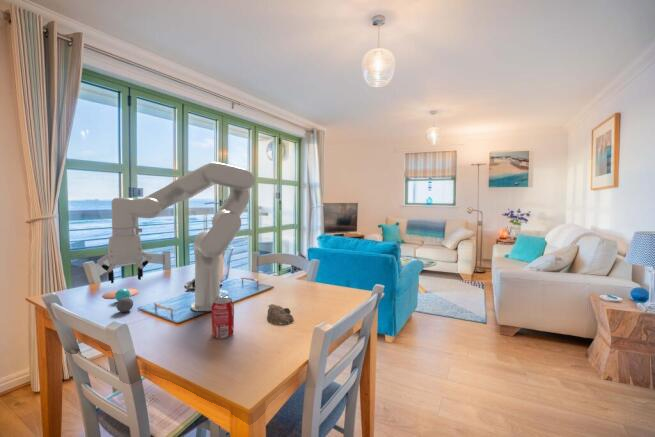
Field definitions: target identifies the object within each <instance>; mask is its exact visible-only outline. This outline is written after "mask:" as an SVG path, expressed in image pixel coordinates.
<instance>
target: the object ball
mask: <svg viewBox="0 0 655 437" xmlns="http://www.w3.org/2000/svg"><path fill="white" fill-rule="evenodd" d="M128 289H129V288H120V289H118V291H117V292H116V294H115V298H116V299H115V300H116V301H117V302H118V301H119V300H120V299H122V298H130V297H131V296H130V291H129V290H128Z"/></svg>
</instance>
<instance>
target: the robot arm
mask: <svg viewBox="0 0 655 437" xmlns="http://www.w3.org/2000/svg"><path fill="white" fill-rule="evenodd" d="M255 180H256V179H255V176H254V173H252V172H251V171H249V170H248V169H246V168H241V167H238V166H233V165H231V164H230V165H229V164H226V163H222V162H217V161H211V162H209V163H206V164H204V165H202V166H200V167H198V168H196V169H195V170H192V171H191V172H189V173H187V174H185V175H183V176H181V177H180V178H177V179H175V180H174V181H172V182H171V183H169V184H168V185H166V186H164V187H162V188H160V189H158V190H157V191H155V192H153V193H150V194H149V195H146V196H145V197H143V198H133V197H114V198H113V199H112V200H111V227H112V228H111V232H112V233H111V236H109V239H108V243H107V244H108V245H107V246H108V247H107V248H108V249H107V254H105V255H103V256H102V257H100V258H99V259H97V261H96V263H97V264H98V265H99V266H100V267H101V268H102V269H103V270H105V271H107V274H108V282H111V284H114V281H115V280H114V270H113V269H114V268H115V266H118V265H129V264H130V265H131V264H136V265H137V266H138V267H137V280H138V281H140V280H142V278H143V277H144V272H143V271H144V270H143V269H144V268H145V267H147V265H148V264H149V262H151V260H152V259H153V256H152V255H151V254H148V253H147V252H145V251H143V249H142V248H143V246H142V242H141V240H142V239H141V236H140V234H141V233H142V232H143V228H140V227H138V218H142V219H155V218H156V217H158V216H159V215H160V214H161V213H162V212H163V211H164V210H165V209H168V208H169V207H170V206H173V205H175V204H178V203H180V202H183V201H186V200H189V199H191V198H193V197H195V196H197V195H198V194H200V193H202V192H204V191H205V190H208V189H209V188H211V187H212V186H214V185H219V186H223V187H228V188H229V195H228V196H227V199H226V200H225V201H224V203H223V204H222V205H221V206H220V208H219V209H218V211H216V213H215V214H214V215H213V217H212V219H211V225H212V226H211V228H210V229H209V230H204V231H201V232H199V233H198V234H197V235H196V236H195V237H194V240H193V253H194V255H193V256H194V278H195V291H194V302H193V303H191V304H190V309H191V310H192V311H195V312H198V311H207V312H212V305H213V303H214V300H215V299H217V298H221V297H224V296H222V293H220V292H221V291H220V290H221V288H220V287H221V286H220V282H221V281H220V278H221V277H220V276H221V274H220V272H221V270H220V269H221V265H220V263H221V262H220V261H221V260H220V256H221V255H222V254H223V253H225V251H226V250H227V248H229V245H230V244H231V243H232V241H233V240H234V239H235V238H236V236H237V234H239V231H241V230H240V229H241V227H242V219H241V215H242V214H244V211H245V210H246V208H247V207H248V204H249V201H250V189H251V188H253V186H254V185H255ZM143 257H145V259H144V261H143ZM105 261H107V262H108V263H109V265H108V264H106V263H105Z"/></svg>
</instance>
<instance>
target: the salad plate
mask: <svg viewBox="0 0 655 437" xmlns="http://www.w3.org/2000/svg"><path fill="white" fill-rule="evenodd" d="M222 285H223V283H222V284H220V287H221V286H222ZM184 286H185V289H186V290H188V291H193V292H195V277H194V278H192V280H191V281H186V282H185V283H184Z"/></svg>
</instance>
